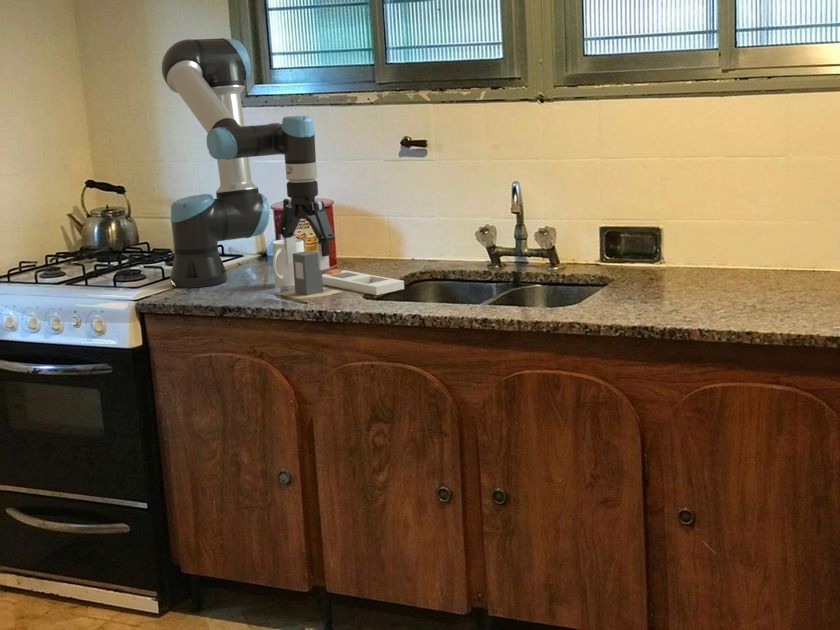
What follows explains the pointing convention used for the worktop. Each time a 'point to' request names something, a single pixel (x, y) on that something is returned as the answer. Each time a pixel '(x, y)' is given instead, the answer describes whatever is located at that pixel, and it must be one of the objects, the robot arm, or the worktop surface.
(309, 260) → the block
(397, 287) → the strip
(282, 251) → the mug
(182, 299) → the worktop surface
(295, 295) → the trivet
